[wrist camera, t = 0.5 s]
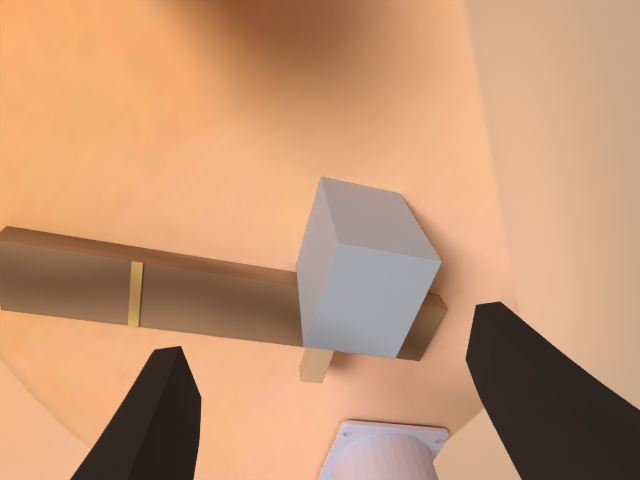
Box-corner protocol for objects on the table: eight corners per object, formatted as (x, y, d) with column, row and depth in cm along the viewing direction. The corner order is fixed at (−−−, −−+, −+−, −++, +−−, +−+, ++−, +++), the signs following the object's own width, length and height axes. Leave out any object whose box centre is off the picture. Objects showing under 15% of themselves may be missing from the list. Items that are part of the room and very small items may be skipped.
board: (413, 346, 26) (420, 362, 25) (13, 294, 21) (0, 311, 20) (439, 295, 24) (447, 310, 23) (6, 226, 19) (-10, 240, 18)
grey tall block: (339, 348, 26) (356, 439, 21) (274, 340, 25) (275, 433, 20) (399, 193, 21) (442, 261, 16) (320, 176, 20) (338, 242, 15)
